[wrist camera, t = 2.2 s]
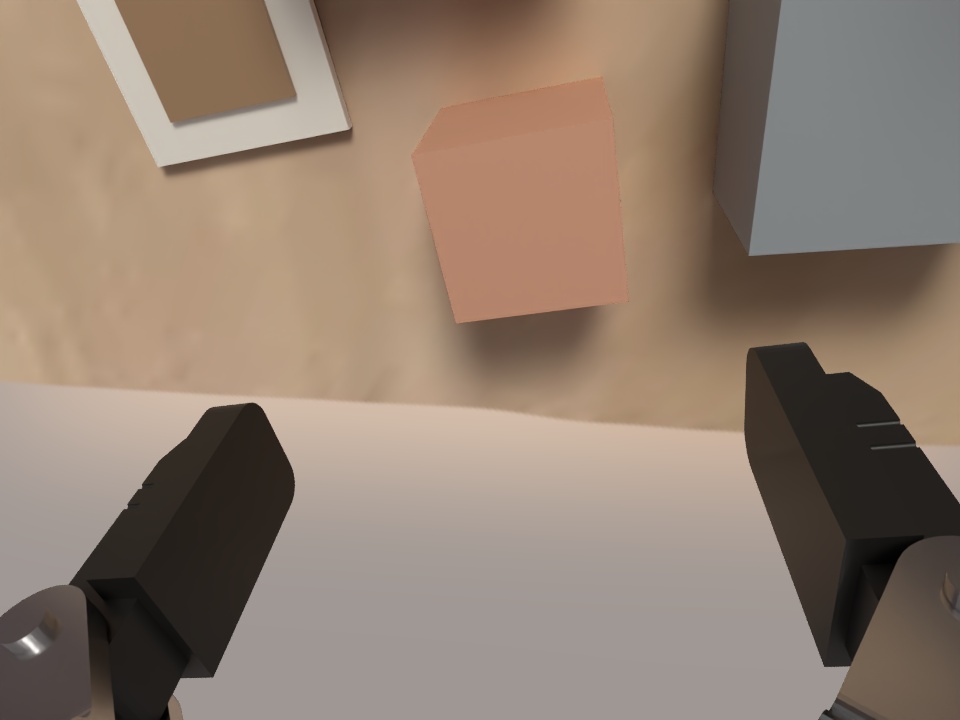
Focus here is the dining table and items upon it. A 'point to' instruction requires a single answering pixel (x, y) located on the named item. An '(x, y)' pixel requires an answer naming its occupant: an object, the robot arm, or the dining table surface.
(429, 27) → the dining table surface
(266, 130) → the white square frame
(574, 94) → the terracotta cube
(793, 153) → the slate block
